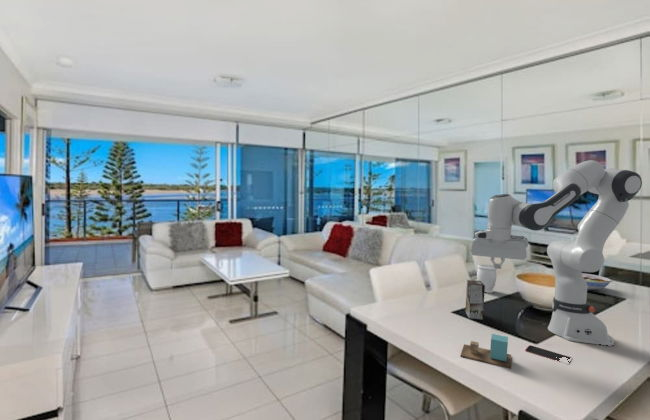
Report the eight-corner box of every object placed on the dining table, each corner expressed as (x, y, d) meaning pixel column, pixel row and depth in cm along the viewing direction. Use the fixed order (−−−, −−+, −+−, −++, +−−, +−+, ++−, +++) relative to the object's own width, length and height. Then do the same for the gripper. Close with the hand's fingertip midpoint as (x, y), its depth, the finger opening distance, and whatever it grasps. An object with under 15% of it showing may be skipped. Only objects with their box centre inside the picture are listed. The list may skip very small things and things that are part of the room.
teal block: (506, 355, 125) (508, 336, 125) (506, 361, 121) (507, 342, 120) (490, 351, 128) (491, 333, 127) (489, 357, 123) (491, 339, 123)
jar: (472, 288, 212) (473, 264, 210) (486, 287, 215) (487, 263, 214) (485, 294, 201) (486, 268, 200) (499, 293, 205) (501, 267, 203)
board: (511, 356, 127) (511, 345, 126) (510, 368, 118) (511, 357, 118) (464, 345, 134) (464, 335, 134) (460, 356, 126) (461, 345, 125)
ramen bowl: (609, 288, 222) (610, 275, 221) (615, 297, 203) (616, 283, 202) (562, 281, 235) (563, 269, 235) (563, 289, 216) (564, 276, 215)
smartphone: (569, 364, 122) (524, 350, 131) (569, 366, 122) (524, 352, 131) (572, 357, 127) (529, 344, 136) (572, 359, 127) (529, 346, 136)
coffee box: (483, 319, 162) (485, 285, 161) (468, 318, 163) (470, 284, 162) (478, 312, 171) (480, 280, 170) (464, 311, 172) (466, 279, 171)
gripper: (528, 235, 139) (526, 269, 140) (472, 231, 149) (471, 263, 150) (528, 237, 134) (527, 273, 134) (471, 233, 143) (469, 266, 144)
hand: (497, 268), depth 142 cm, fingers closed
